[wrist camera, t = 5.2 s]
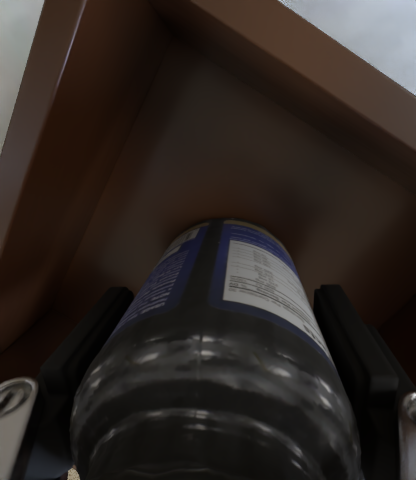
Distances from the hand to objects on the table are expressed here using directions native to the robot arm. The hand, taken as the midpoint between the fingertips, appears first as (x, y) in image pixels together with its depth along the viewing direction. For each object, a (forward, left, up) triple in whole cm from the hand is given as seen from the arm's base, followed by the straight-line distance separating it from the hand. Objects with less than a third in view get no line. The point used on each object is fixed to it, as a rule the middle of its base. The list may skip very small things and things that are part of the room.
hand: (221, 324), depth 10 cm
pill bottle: (0, 0, -4) cm, 4 cm away
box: (0, 0, -4) cm, 4 cm away
